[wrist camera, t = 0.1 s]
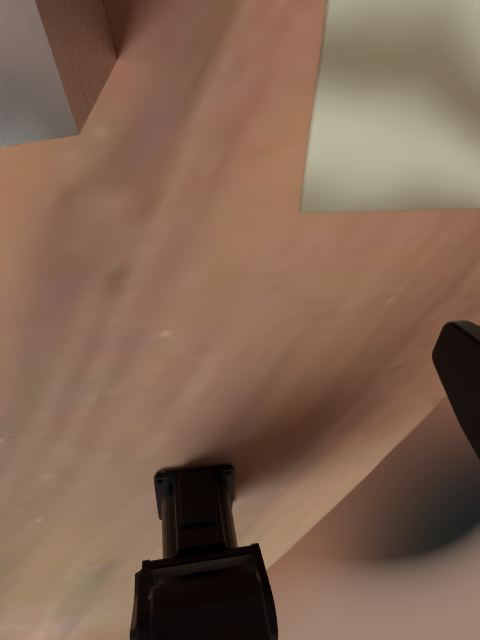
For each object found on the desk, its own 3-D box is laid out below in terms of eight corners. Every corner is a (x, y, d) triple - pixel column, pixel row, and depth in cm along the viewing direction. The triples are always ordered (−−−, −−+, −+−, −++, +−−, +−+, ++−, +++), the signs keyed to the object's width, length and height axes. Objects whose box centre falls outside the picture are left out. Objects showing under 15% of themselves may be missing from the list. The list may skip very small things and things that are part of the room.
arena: (582, 203, 25) (626, 224, 23) (205, 212, 22) (212, 238, 19) (789, -174, 16) (897, -204, 14) (203, -267, 13) (215, -326, 10)
